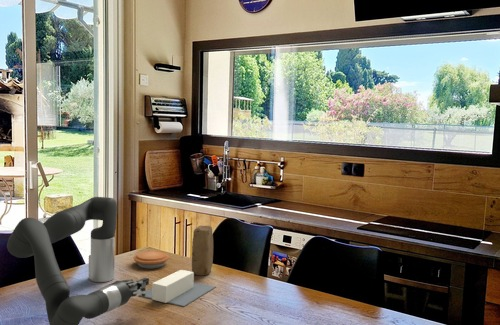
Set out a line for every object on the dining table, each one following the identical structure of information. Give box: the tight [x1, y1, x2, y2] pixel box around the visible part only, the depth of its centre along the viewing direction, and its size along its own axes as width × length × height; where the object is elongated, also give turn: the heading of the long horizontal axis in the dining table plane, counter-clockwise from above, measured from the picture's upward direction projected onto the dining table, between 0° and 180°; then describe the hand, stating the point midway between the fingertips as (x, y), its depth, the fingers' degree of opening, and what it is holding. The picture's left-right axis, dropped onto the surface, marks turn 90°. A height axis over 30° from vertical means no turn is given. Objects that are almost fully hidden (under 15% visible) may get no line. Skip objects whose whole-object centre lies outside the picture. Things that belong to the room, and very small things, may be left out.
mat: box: [137, 281, 217, 308], centre depth 173 cm, size 20×22×1 cm
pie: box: [133, 250, 170, 270], centre depth 205 cm, size 15×16×5 cm
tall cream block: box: [151, 269, 195, 304], centre depth 170 cm, size 6×6×18 cm
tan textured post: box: [191, 225, 214, 276], centre depth 196 cm, size 11×8×20 cm
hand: (147, 280), depth 155 cm, fingers closed
